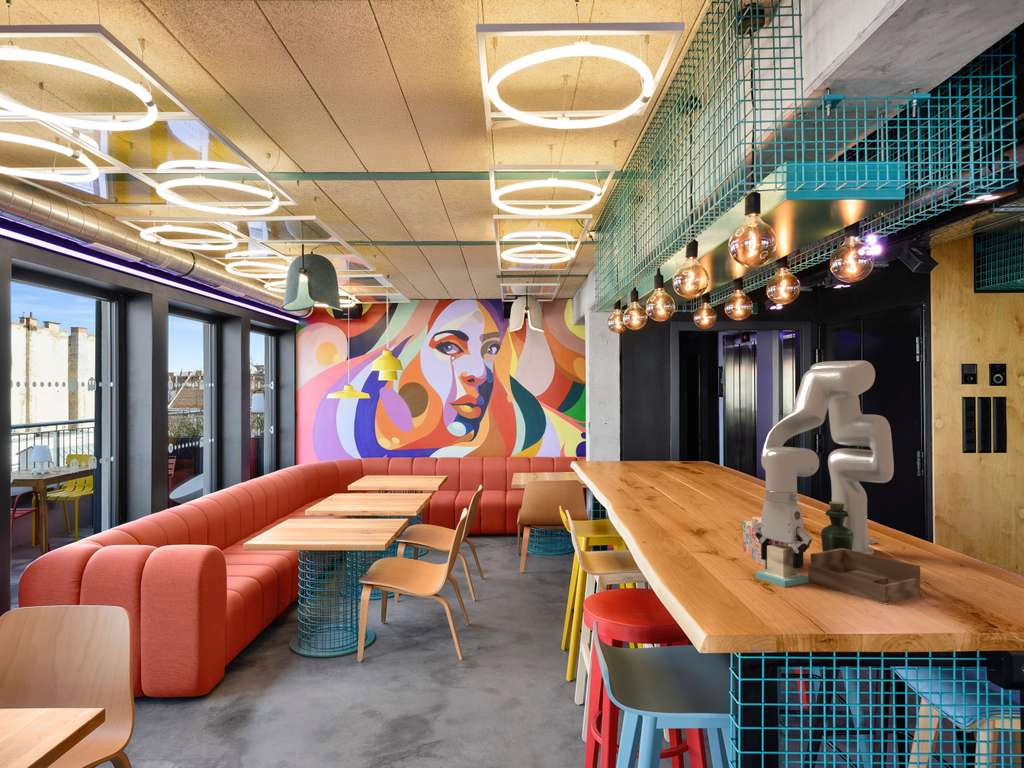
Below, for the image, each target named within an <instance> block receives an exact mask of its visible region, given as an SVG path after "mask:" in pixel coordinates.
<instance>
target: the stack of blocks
mask: <svg viewBox="0 0 1024 768" xmlns="http://www.w3.org/2000/svg"><path fill="white" fill-rule="evenodd" d="M761 521H762V516H752V517H751V520H742V534H743V535H742V542H743V552H745V553H746V554H747V553H748V554H749V557H750V558H752V559H753V558H754V559H755V561H756V562H757V563H758V562H759V563H758V564H759V565H760V564H761V565H762V566H763V567H764V569H765V570H767V559H766V560H762V559H761V544H760V543H759V540H758V538H757V537H756V533H755V531H754V528H753V525H755V524H758V523H760V522H761ZM761 532H762V531H761ZM769 543H770V544H771V545H775V544H783V545H787V546H789V544H787V543H782V542H778V541H774V540H771V541H770V542H769ZM748 554H747V555H748ZM754 559H753V560H754ZM761 565H760V566H761ZM762 566H761V567H762ZM763 567H762V568H763Z"/></svg>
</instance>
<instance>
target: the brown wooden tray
mask: <svg viewBox="0 0 1024 768" xmlns="http://www.w3.org/2000/svg"><path fill="white" fill-rule="evenodd" d="M807 576H809V582H808V583H813V584H815V585H817V586H821V587H822V586H823V587H826V588H829V589H832V590H836V591H839V592H842V591H843V592H842V593H846V594H848V595H849V594H850V595H852V594H853V595H854V596H856V597H859V596H860V598H862V597H863V599H866V600H869V599H870V601H873V600H874V601H873V602H876V601H878V602H877V603H879V602H882V603H881V604H883V603H888V604H890V603H889V602H892V603H894V602H893V601H896V602H898V601H897V600H900V601H902V600H901V599H904V600H906V599H905V598H908V599H911V598H914V596H915V597H919V596H921V565H918V564H917V565H916V564H913V563H908V562H904V561H900V560H896V559H892V558H887V557H882V556H878V555H874V554H873V555H870V554H866V553H862V552H857V551H853V550H849V549H844V548H840V549H834V550H829V551H823V550H822V551H818V552H812V553H810V565H807ZM918 595H919V596H918ZM910 597H911V598H910Z"/></svg>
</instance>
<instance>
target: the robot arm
mask: <svg viewBox="0 0 1024 768" xmlns="http://www.w3.org/2000/svg"><path fill="white" fill-rule="evenodd" d="M875 379H876V370H875V368H874V365H872V363H871V362H869V361H867V360H834V361H833V360H831V361H822V362H816V363H814V364H812V365H811V366H810V368H809V369H808V370H807V371H806V372H805V373H804V374H803V376H802V379H801V382H800V385H799V388H798V391H797V395H796V397H795V401H794V404H793V407H792V411H791V412H790V413H789V414H787V415H786V416H784V417H782V419H781V420H779V421H778V422H777V423H776V424H775V425H774V426H773V427H772V428H771V429H770V430H769V431H768V434H767V436H766V439H765V442H764V444H763V447H762V451H761V456H760V457H761V458H760V459H761V460H760V462H761V467H762V468H763V469H764V471H765V500H764V501H763V506H762V512H761V517H762V521H761V522H760V523H758V524H755V525H753V528H754V531H755V533H756V537H757V538H758V540H759V543H760V544H761V559H762V560H766V559H767V546H769V545H771V544H770V543H769V542H770V541H771V540H774V541H778V542H782V543H787V544H788V545H789V546H791V547H792V548H793V550H794V551H795V552H794V553H793V568H794V569H803V567H804V553H806V552H807V550H808V549H809V548H810V547H811V546H810V545H811V543H812V542H813V536H811V535H810V534H809V533H807V532H806V531H805V526H804V525H805V524H804V517H803V512H802V511H803V510H802V507H801V504H800V503H798V502H799V501H800V500H801V496H800V495H798V481H797V480H798V477H804V478H805V477H811V476H812V475H815V473H817V472H818V469H819V467H820V459H819V455H817V453H816V452H815V451H813V450H812V449H809V448H803V447H794V446H793V447H791V446H783V445H784V444H785V443H786V442H787V441H788V440H790V439H791V438H792V437H794V436H797V435H799V434H802V433H805V432H807V431H810V430H813V429H815V428H818V427H819V426H822V424H824V422H825V420H826V417H827V412H828V417H829V428H830V434H831V439H832V440H833V442H834V443H835V444H838V445H843V446H854V447H869V448H870V449H861V448H860V449H859V448H847V447H846V448H837V449H834V450H833V451H831V452H830V453H829V455H828V459H827V466H828V471H829V476H830V481H831V482H830V483H831V502H842V503H844V507H843V510H844V511H847V512H848V515H849V516H848V517H845V518H844V522H843V526H844V527H846V528H848V529H849V530H851V531H852V533H853V545H852V550H853V551H857V552H862V553H866V554H870V555H874V550H873V549H872V548H870V547H869V545H873V544H875V542H876V540H875V538H874V537H872V536H871V537H869V536H868V496H867V491H866V490H865V488H864V487H863V486H862V485H861V483H860V482H867V483H877V484H879V483H881V484H884V483H889V481H891V480H892V478H893V477H894V472H895V468H894V466H895V465H894V464H895V463H894V452H893V450H894V449H893V439H892V430H891V426H890V423H889V421H888V419H887V418H886V417H885V416H882V415H878V414H863V413H862V411H861V405H860V398H859V395H861V394H862V393H864V392H866V391H868V390H869V389H870V388H872V386H873V385H874V382H875ZM761 531H762V532H761Z"/></svg>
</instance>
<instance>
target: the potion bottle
mask: <svg viewBox="0 0 1024 768" xmlns="http://www.w3.org/2000/svg"><path fill="white" fill-rule="evenodd" d="M828 503H829V508H830V509H826V510H825V514H824V515H826V516H827V517H828V518H829V520H830V521H829V522H830V524H829V525H827V526H825V527H823V528H822V530H821V532H820V537H821V546H822V547H821V548H822V552H823V551H829V550H834V549H840V548H844V549H849V550H852V545H853V533H852V531H851V530H849V529H848V528H846V527H844V526H843V522H844V518H845V517H848V516H849V515H848V512H847V511H844V510H843V507H844V503H842V502H832V501H829V502H828Z"/></svg>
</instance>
